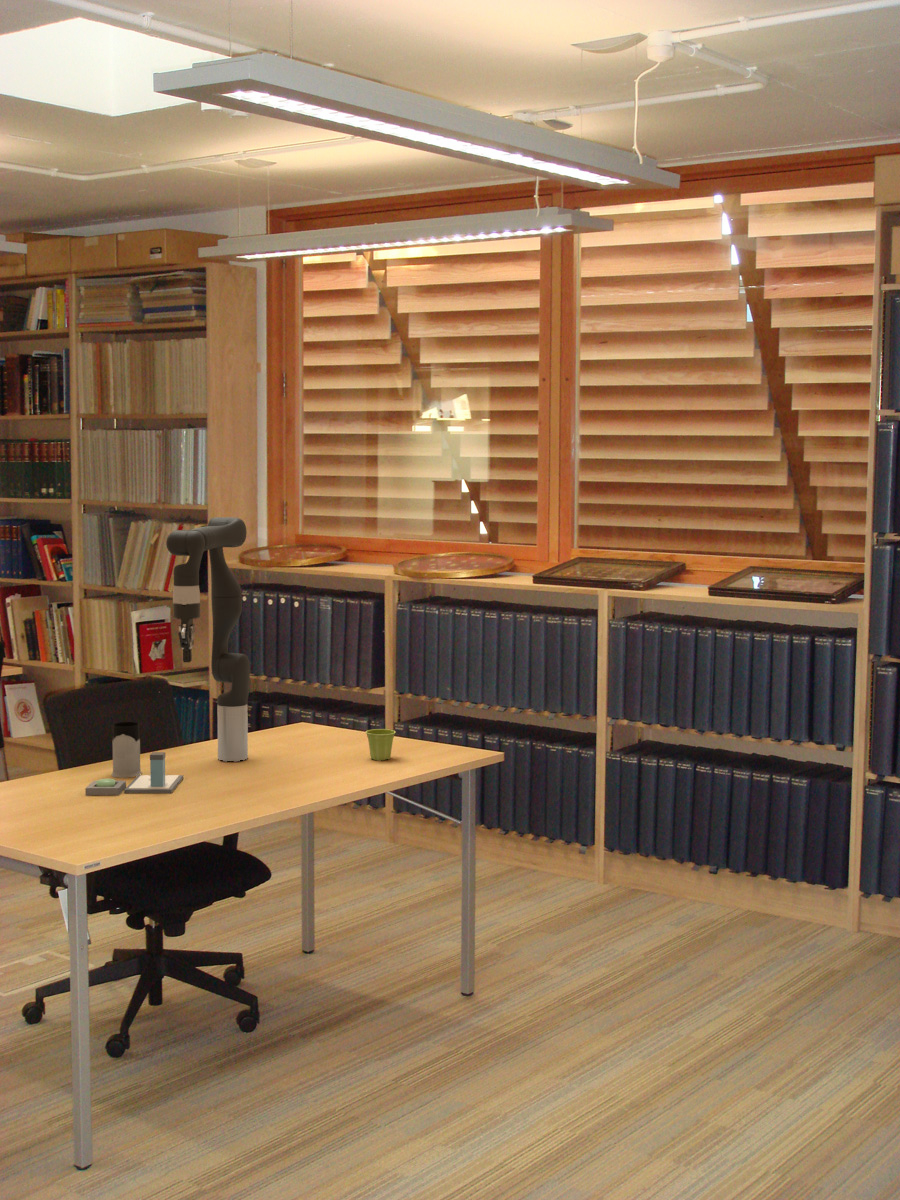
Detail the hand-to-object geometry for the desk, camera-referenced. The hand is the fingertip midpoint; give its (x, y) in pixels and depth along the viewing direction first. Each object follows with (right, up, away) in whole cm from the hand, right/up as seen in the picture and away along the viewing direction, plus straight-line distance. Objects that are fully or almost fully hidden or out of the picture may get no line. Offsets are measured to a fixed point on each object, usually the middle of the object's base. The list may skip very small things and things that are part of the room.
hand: (187, 661), depth 365 cm
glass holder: (-20, -34, +16) cm, 42 cm away
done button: (-21, -35, -9) cm, 42 cm away
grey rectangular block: (-7, -34, -6) cm, 35 cm away
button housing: (-21, -36, -8) cm, 42 cm away
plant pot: (+53, -32, +37) cm, 72 cm away
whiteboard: (-9, -35, -1) cm, 36 cm away
